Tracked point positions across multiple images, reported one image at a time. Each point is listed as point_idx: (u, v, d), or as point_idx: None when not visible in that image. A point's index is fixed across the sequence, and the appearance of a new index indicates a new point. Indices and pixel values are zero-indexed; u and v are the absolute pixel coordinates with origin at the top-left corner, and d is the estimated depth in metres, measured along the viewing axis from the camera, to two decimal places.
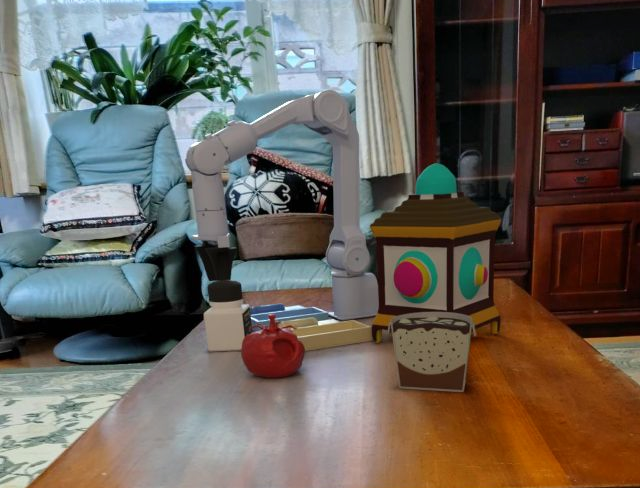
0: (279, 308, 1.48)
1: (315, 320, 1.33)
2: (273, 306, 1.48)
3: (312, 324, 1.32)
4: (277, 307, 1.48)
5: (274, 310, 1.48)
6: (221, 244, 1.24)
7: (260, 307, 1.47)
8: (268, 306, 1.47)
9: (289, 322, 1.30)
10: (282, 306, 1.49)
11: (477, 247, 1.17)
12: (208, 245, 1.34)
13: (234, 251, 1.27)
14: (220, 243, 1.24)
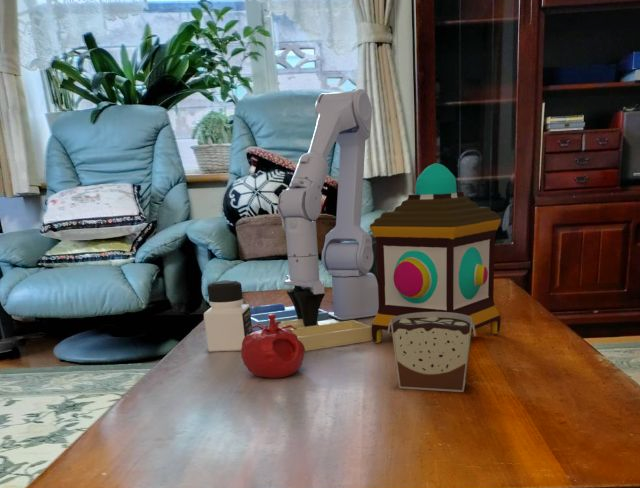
0: (279, 308, 1.48)
1: None
2: (273, 306, 1.48)
3: None
4: (277, 307, 1.48)
5: (274, 310, 1.48)
6: (316, 291, 1.24)
7: (260, 307, 1.47)
8: (268, 306, 1.47)
9: (289, 322, 1.30)
10: (282, 306, 1.49)
11: (477, 247, 1.17)
12: (301, 290, 1.32)
13: (322, 295, 1.29)
14: (316, 290, 1.24)
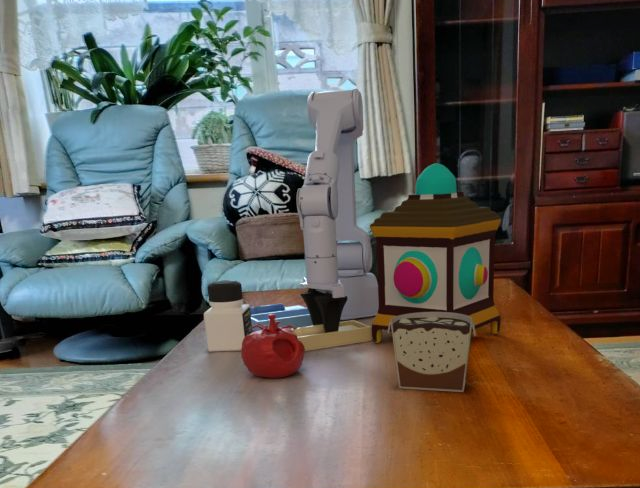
0: (279, 308, 1.48)
1: None
2: (273, 306, 1.48)
3: None
4: (277, 307, 1.48)
5: (274, 310, 1.48)
6: (336, 294, 1.16)
7: (260, 307, 1.47)
8: (268, 306, 1.47)
9: (306, 328, 1.23)
10: (282, 306, 1.49)
11: (477, 247, 1.17)
12: (316, 292, 1.25)
13: (345, 300, 1.20)
14: (335, 293, 1.16)
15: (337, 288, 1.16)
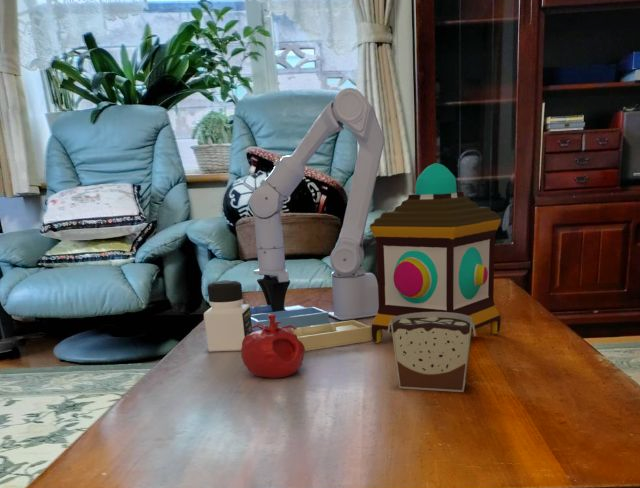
0: None
1: (333, 326, 1.25)
2: None
3: (330, 330, 1.24)
4: None
5: None
6: (281, 279, 1.40)
7: (260, 307, 1.47)
8: (268, 306, 1.47)
9: (306, 328, 1.23)
10: None
11: (477, 247, 1.17)
12: (270, 279, 1.48)
13: (288, 283, 1.45)
14: (281, 278, 1.40)
15: (282, 274, 1.40)
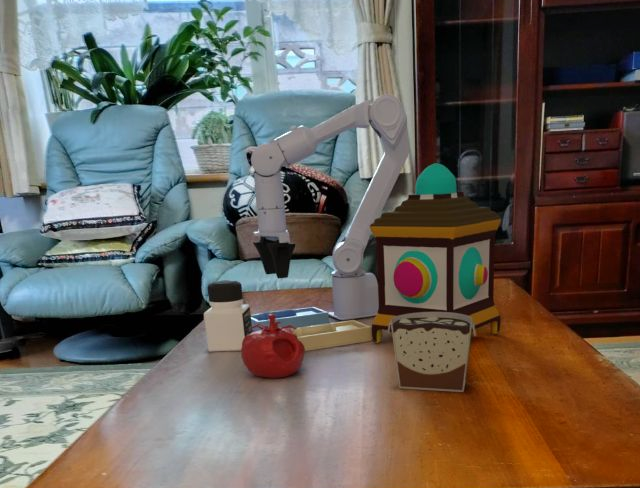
0: (290, 314, 1.39)
1: (333, 326, 1.25)
2: (284, 312, 1.39)
3: (330, 330, 1.24)
4: (288, 313, 1.39)
5: None
6: (282, 240, 1.35)
7: (270, 313, 1.38)
8: (279, 312, 1.38)
9: (306, 328, 1.23)
10: (293, 312, 1.40)
11: (477, 247, 1.17)
12: (266, 241, 1.45)
13: (293, 246, 1.38)
14: (281, 239, 1.35)
15: (283, 234, 1.35)
